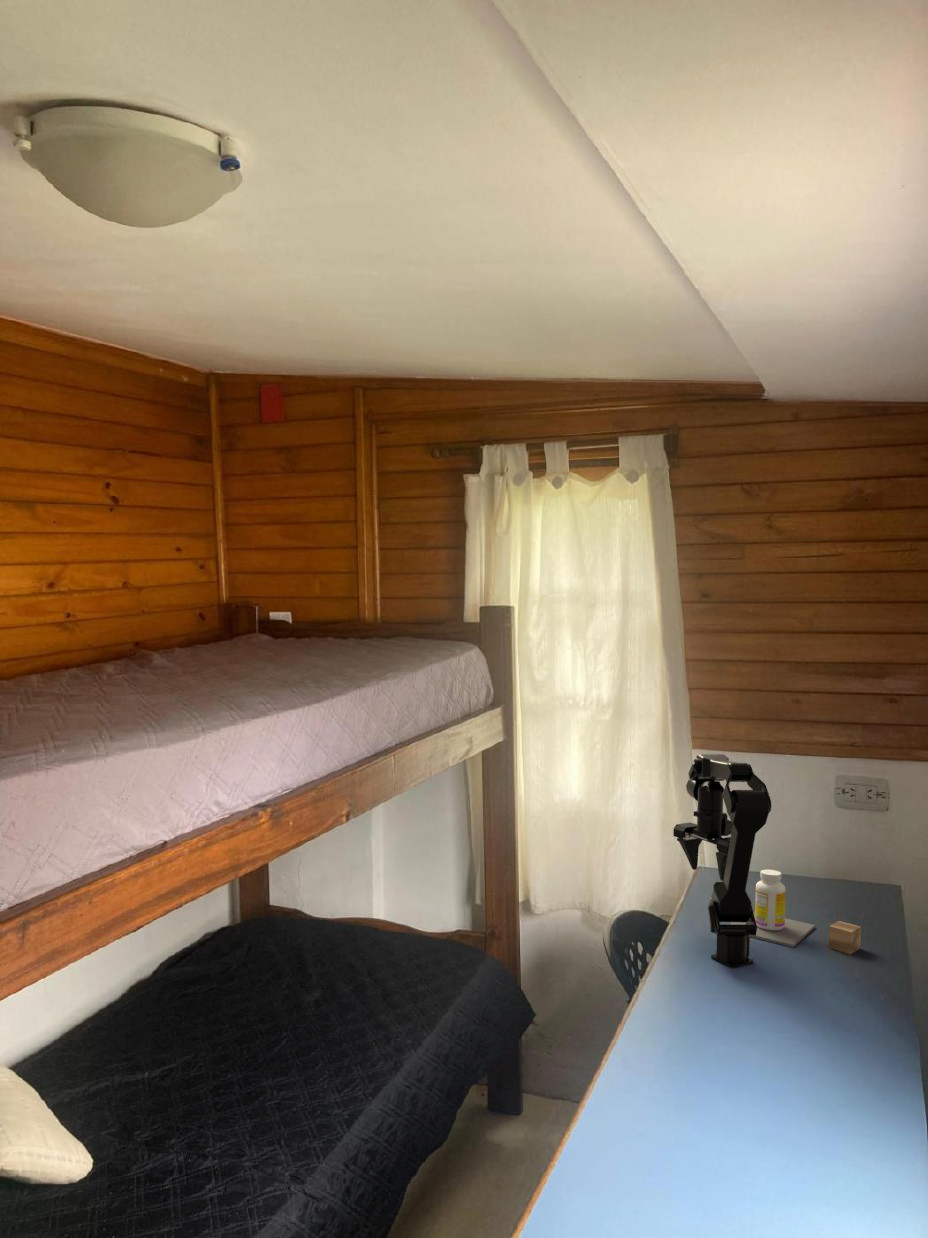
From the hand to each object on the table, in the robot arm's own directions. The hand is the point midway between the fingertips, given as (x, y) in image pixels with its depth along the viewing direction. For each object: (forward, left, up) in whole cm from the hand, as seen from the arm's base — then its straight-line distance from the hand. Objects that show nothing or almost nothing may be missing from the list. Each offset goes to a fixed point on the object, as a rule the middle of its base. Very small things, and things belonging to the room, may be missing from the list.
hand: (708, 875), depth 219 cm
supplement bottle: (+14, -6, -13) cm, 20 cm away
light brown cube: (+20, -22, -13) cm, 32 cm away
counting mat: (+14, -6, -13) cm, 20 cm away
